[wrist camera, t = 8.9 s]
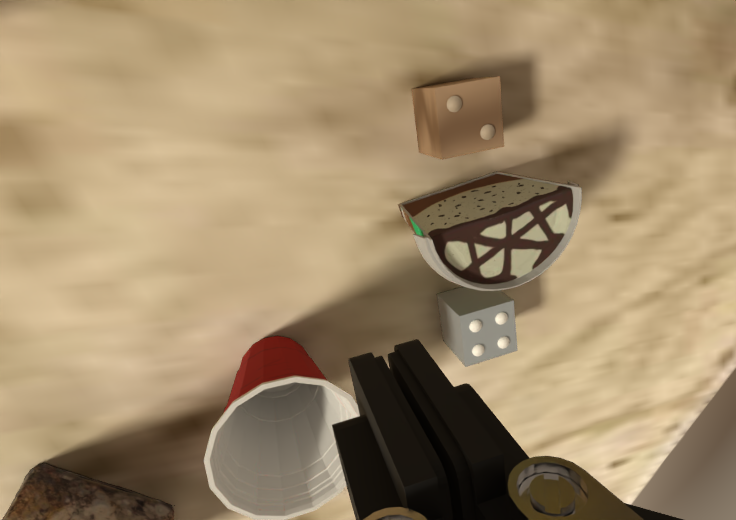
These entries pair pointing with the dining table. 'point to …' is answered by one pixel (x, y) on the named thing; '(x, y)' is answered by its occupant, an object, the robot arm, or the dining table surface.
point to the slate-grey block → (477, 324)
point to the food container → (494, 228)
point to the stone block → (80, 499)
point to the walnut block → (459, 117)
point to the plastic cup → (278, 435)
